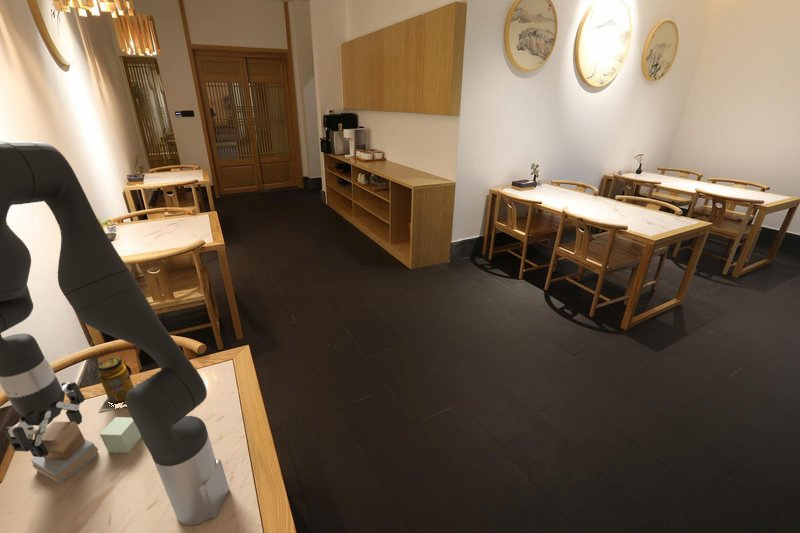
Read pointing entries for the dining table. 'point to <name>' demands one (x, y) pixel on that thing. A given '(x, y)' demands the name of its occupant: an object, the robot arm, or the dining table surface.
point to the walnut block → (62, 440)
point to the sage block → (120, 435)
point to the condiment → (114, 382)
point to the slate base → (65, 463)
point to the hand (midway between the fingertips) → (61, 438)
